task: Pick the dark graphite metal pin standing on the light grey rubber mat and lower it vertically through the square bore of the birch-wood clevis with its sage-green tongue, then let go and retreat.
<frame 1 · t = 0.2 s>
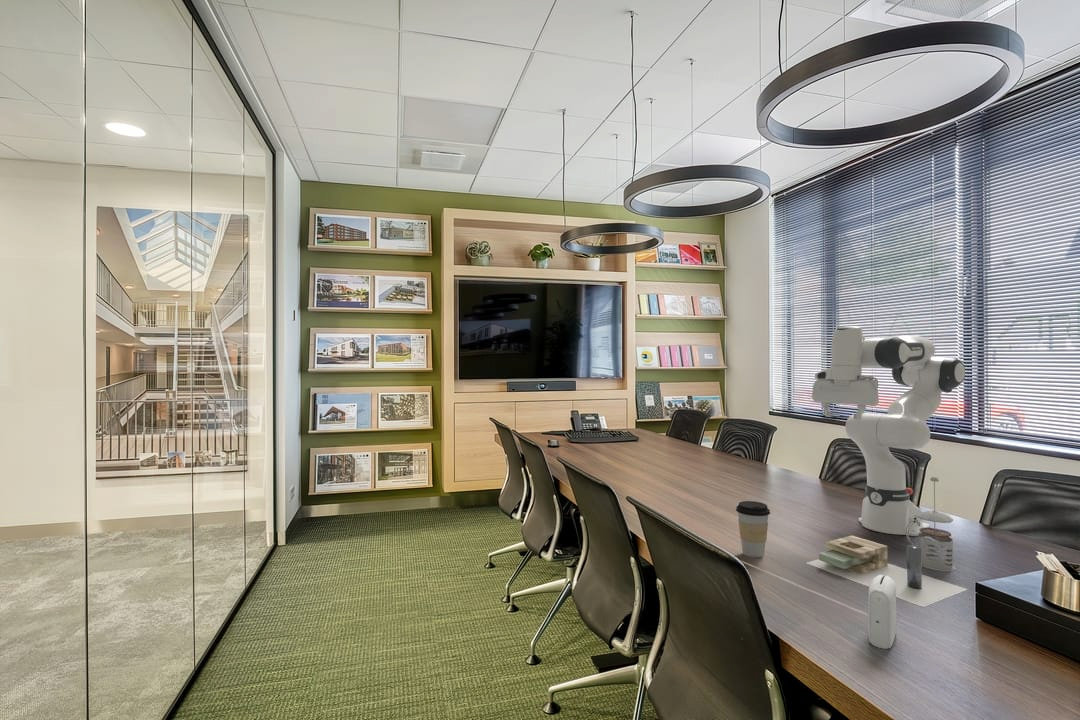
hand: (842, 418, 168), 39 cm above the table, tool pointing down, fingers open, 8 cm apart
mat: (881, 577, 138), on the table
white rounded slab: (882, 638, 108), on the table
pin: (914, 586, 131), resting on mat
clevis: (851, 564, 145), resting on mat
french press: (931, 566, 146), on the table
coffee cup: (753, 555, 155), on the table
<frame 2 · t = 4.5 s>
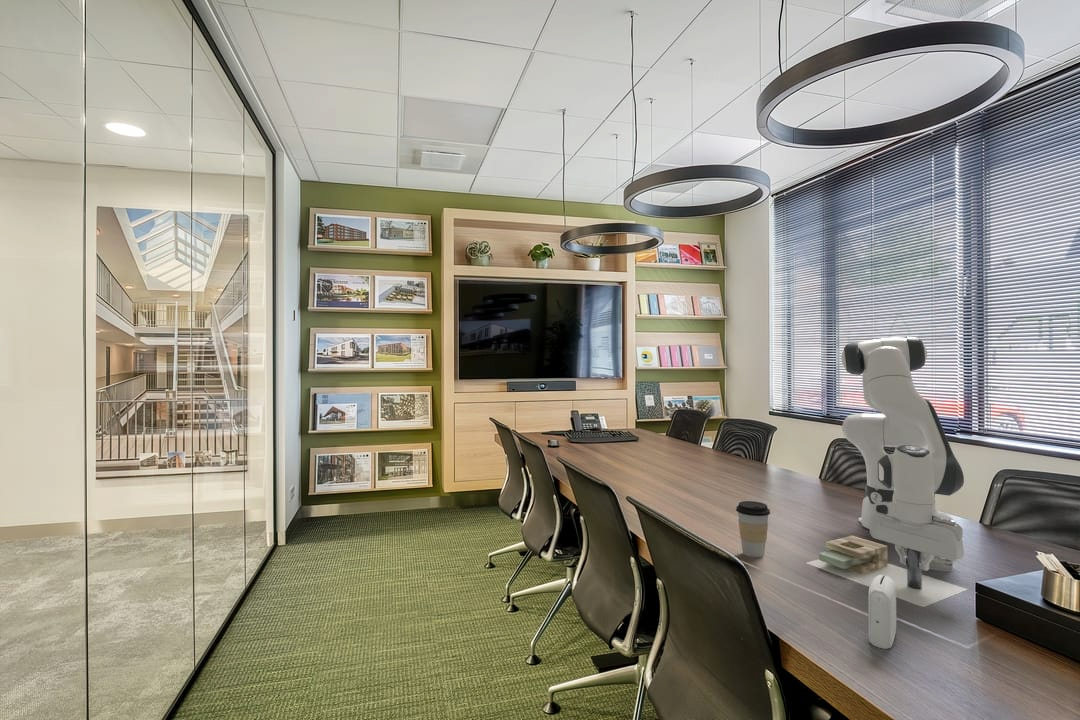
hand: (914, 566, 131), 6 cm above the table, tool pointing down, fingers closed on pin, 3 cm apart
pin: (914, 586, 131), resting on mat, touching gripper
everything else where it was.
when the fingers open (7 cm above the table, at t = 9.9 s): pin drops 1 cm, resting on mat.
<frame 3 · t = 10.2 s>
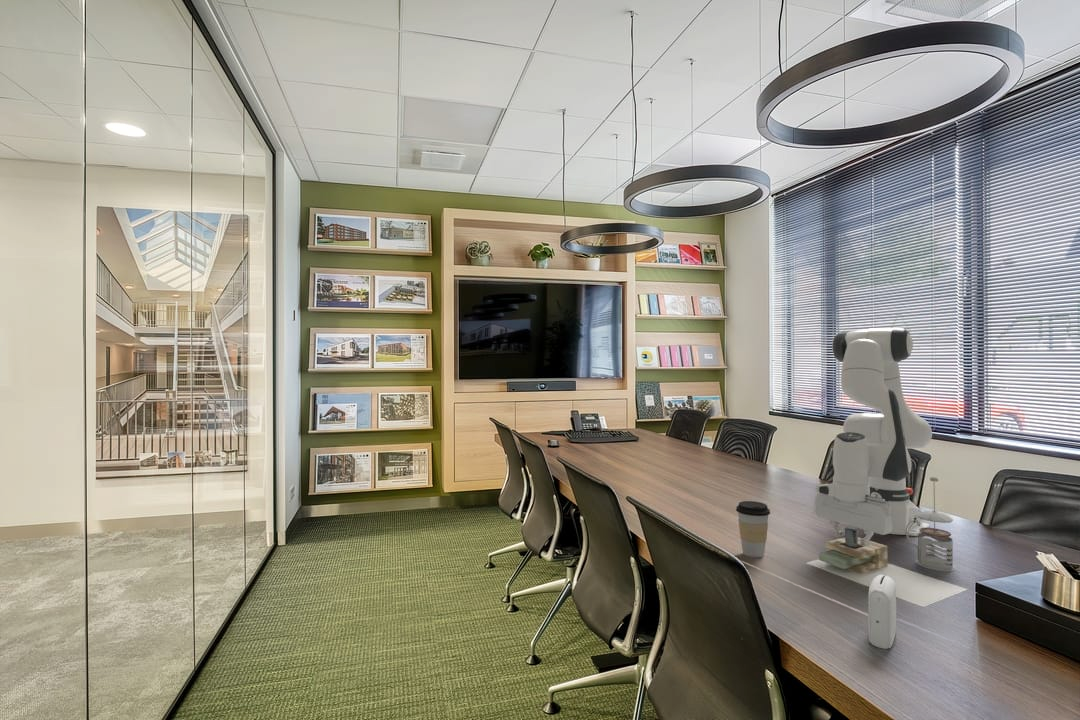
hand: (851, 541, 146), 7 cm above the table, tool pointing down, fingers open, 6 cm apart
pin: (851, 564, 145), point 1 cm above the table, touching mat
everything else where it was.
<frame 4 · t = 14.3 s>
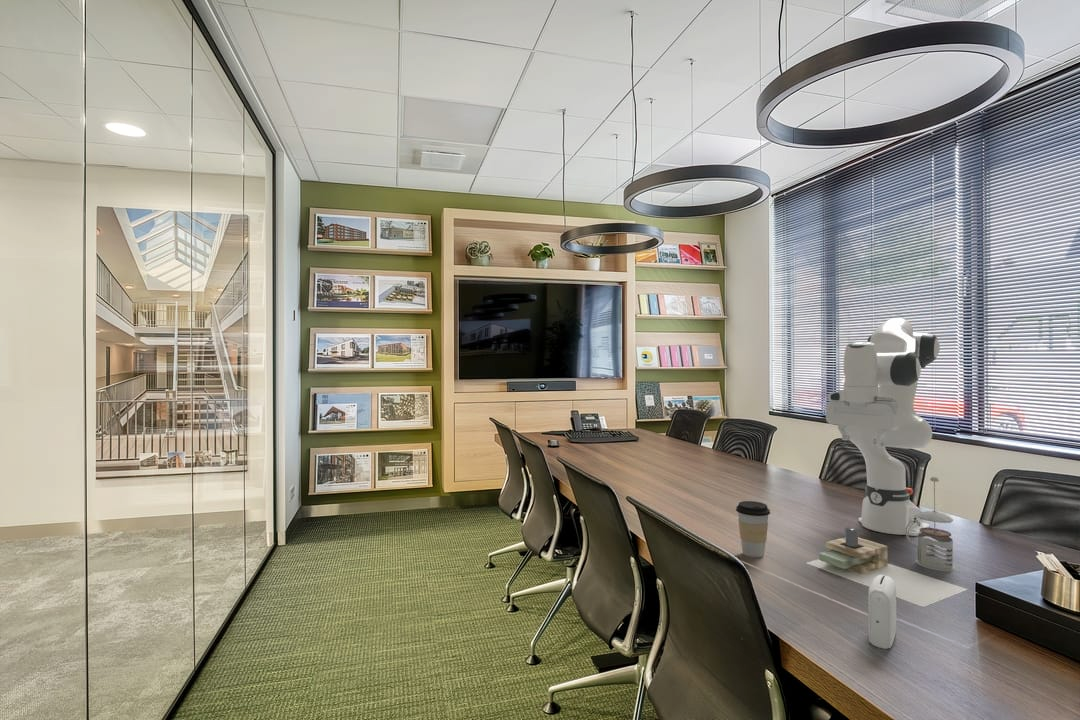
hand: (861, 442, 156), 33 cm above the table, tool pointing down, fingers open, 8 cm apart
nothing on the table moved.
at the end: pin 0.0 cm off-centre on the clevis, point 0.0 cm above the clevis's base; pin tilted 0°; the gripper is holding nothing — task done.
